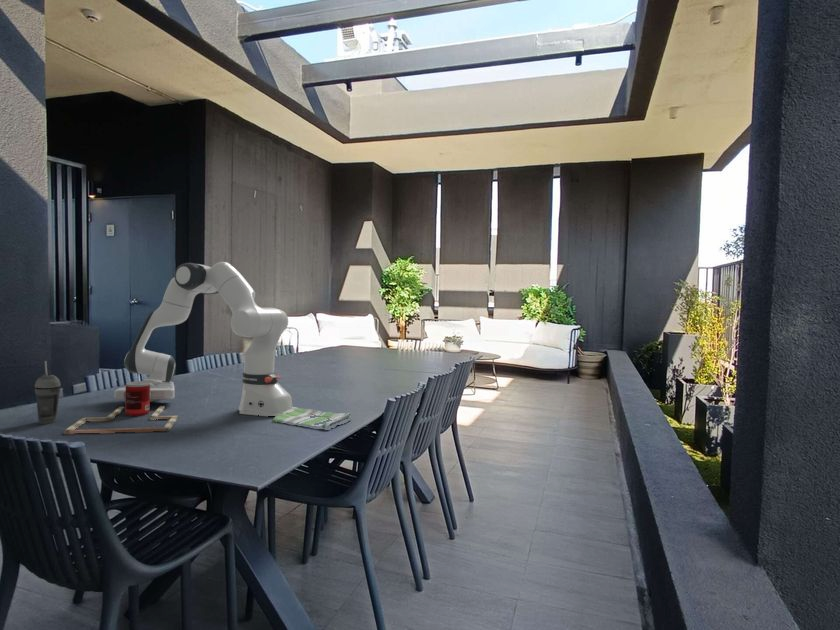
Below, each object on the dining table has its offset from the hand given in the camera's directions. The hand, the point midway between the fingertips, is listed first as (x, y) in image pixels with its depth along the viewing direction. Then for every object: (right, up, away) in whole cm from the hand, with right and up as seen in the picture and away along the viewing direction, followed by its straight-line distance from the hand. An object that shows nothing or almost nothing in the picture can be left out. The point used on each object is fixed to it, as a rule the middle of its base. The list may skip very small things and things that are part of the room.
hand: (140, 397), depth 191 cm
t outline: (+3, -6, -13) cm, 14 cm away
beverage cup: (-20, -5, -19) cm, 28 cm away
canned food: (+1, -5, -4) cm, 7 cm away
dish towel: (+63, -9, -4) cm, 64 cm away
